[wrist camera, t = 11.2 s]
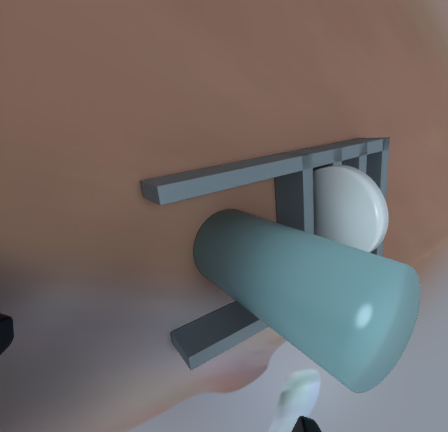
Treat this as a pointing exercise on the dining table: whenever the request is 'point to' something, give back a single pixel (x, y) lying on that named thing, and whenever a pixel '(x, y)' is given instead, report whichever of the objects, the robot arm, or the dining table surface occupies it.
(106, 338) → the dining table surface
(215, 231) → the aqua tapered cylinder
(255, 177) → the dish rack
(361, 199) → the white half-round piece
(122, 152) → the dining table surface
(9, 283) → the dining table surface
